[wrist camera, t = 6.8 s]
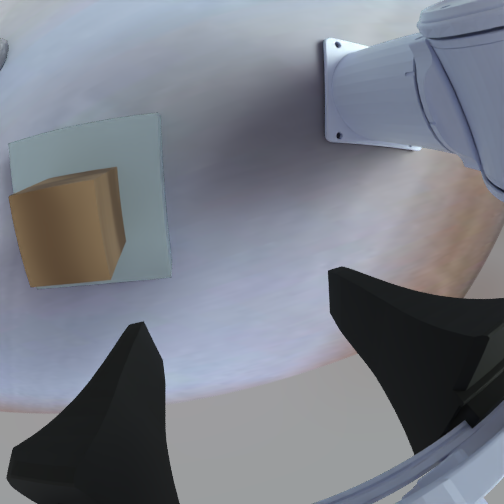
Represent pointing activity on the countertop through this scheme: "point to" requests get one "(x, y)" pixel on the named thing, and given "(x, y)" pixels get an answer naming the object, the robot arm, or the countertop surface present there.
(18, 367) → the countertop surface
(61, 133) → the base slab
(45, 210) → the walnut block
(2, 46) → the stone block
